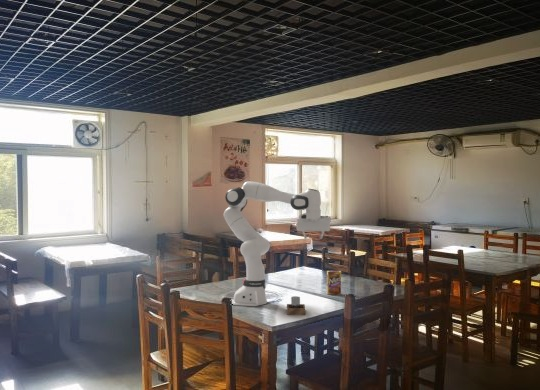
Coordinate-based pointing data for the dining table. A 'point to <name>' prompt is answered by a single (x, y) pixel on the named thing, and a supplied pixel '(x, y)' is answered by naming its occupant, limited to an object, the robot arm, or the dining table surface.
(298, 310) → the brown wooden square box
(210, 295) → the dining table surface
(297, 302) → the steel socket
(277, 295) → the dining table surface
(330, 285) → the candy box
